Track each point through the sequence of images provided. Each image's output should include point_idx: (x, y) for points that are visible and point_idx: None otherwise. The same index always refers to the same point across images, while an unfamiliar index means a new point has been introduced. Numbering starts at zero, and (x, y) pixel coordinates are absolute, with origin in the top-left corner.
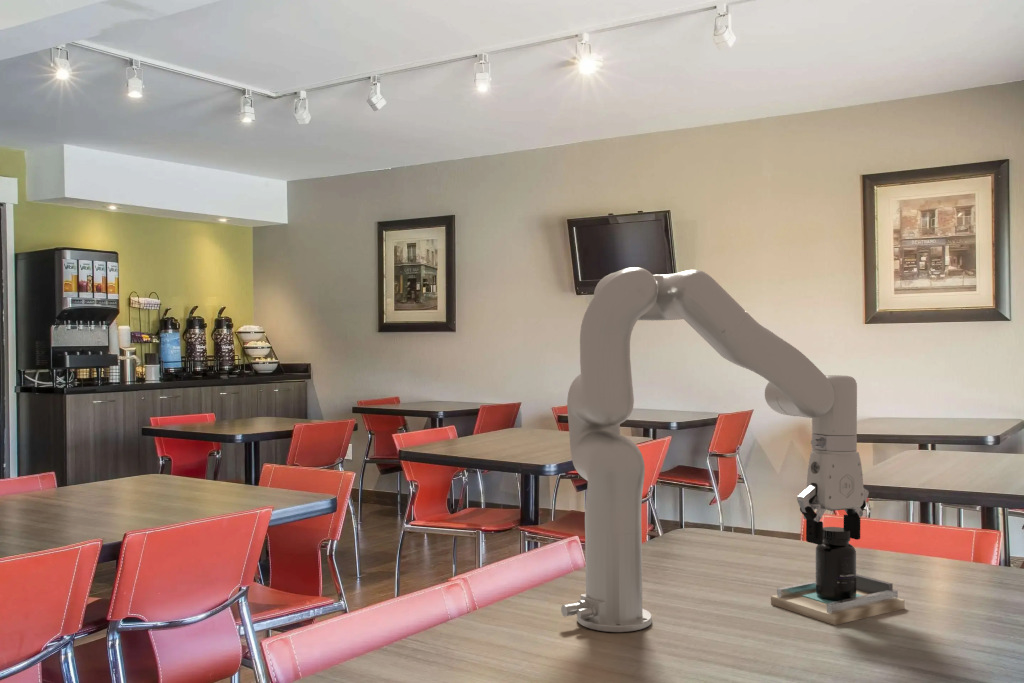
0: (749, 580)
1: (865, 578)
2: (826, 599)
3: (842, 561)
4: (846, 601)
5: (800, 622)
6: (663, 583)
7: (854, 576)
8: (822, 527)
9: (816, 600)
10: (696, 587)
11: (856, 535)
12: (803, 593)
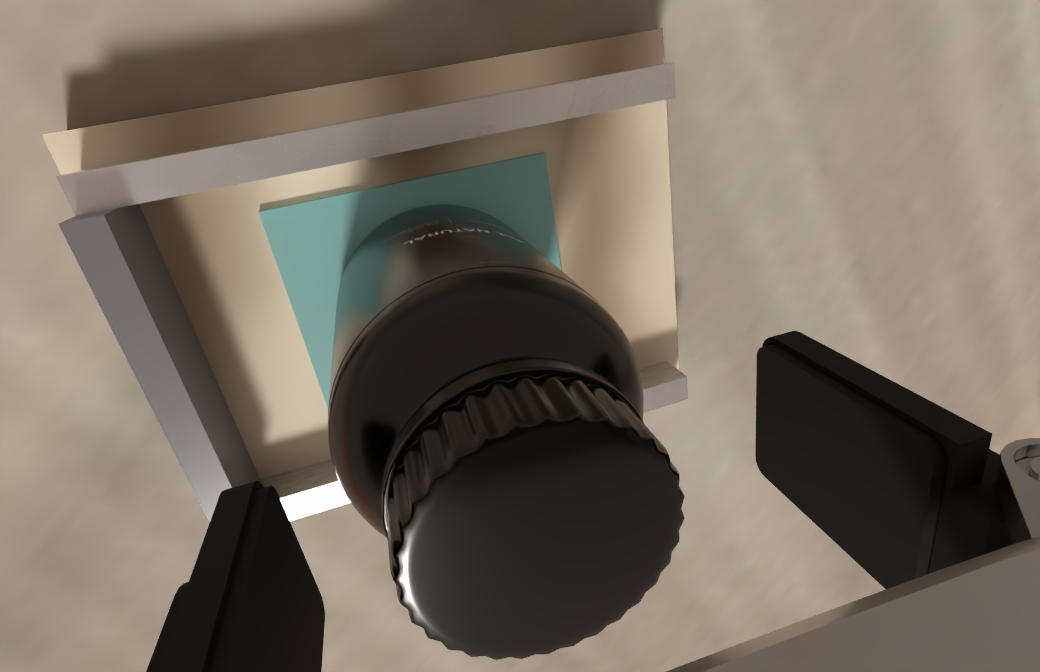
0: (525, 659)
1: (185, 385)
2: None
3: (537, 262)
4: (558, 85)
5: (732, 134)
6: None
7: (402, 242)
8: (899, 406)
9: None
10: (735, 599)
11: (269, 509)
12: None
